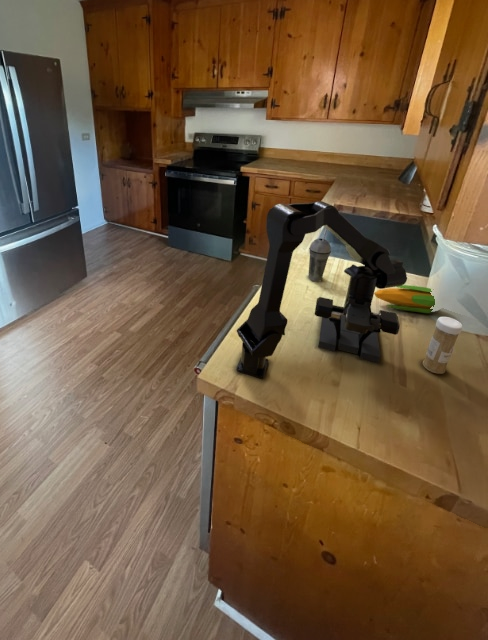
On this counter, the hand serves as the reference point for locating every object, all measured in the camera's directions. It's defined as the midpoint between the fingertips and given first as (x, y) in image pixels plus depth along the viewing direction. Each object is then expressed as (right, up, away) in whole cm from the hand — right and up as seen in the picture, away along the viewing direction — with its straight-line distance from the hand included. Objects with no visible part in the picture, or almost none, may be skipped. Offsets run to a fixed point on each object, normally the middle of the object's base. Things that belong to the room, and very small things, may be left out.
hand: (348, 341), depth 86 cm
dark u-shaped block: (+2, 0, +5) cm, 5 cm away
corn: (+27, +5, +17) cm, 32 cm away
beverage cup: (+5, +12, +35) cm, 37 cm away
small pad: (0, -1, 0) cm, 1 cm away
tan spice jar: (+17, -5, -6) cm, 19 cm away
